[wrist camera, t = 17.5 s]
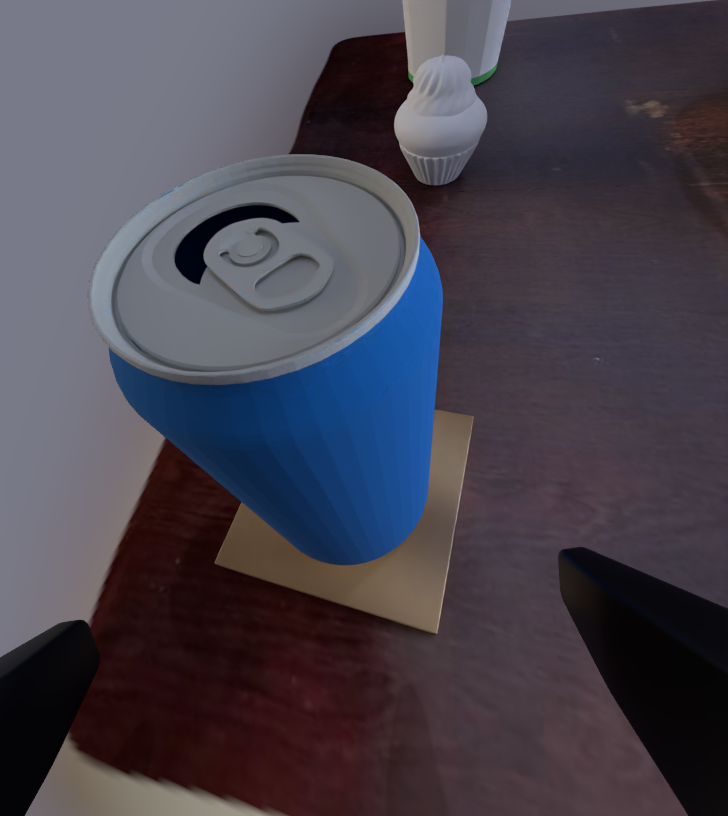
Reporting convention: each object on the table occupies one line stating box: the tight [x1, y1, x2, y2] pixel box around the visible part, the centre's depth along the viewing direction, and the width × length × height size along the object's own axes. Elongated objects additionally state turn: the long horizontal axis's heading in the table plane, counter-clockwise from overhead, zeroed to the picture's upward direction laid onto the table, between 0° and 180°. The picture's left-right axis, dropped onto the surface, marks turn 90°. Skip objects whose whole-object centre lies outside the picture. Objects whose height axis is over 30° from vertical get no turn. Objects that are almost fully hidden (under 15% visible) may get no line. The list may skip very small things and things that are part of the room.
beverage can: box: [88, 154, 443, 565], centre depth 12 cm, size 6×6×12 cm
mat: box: [215, 409, 474, 635], centre depth 17 cm, size 9×9×1 cm
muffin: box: [394, 54, 487, 186], centre depth 26 cm, size 6×6×7 cm
